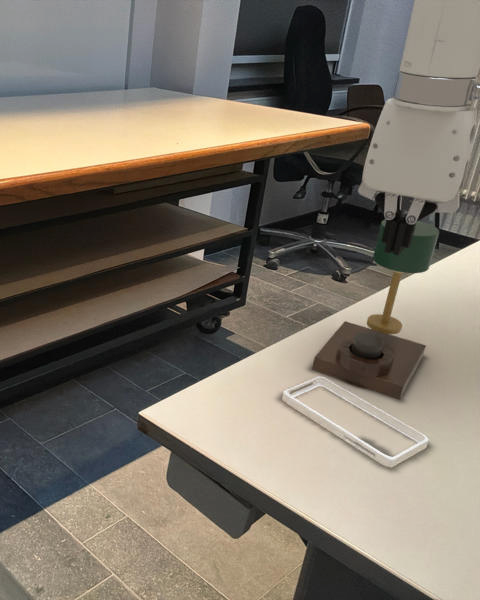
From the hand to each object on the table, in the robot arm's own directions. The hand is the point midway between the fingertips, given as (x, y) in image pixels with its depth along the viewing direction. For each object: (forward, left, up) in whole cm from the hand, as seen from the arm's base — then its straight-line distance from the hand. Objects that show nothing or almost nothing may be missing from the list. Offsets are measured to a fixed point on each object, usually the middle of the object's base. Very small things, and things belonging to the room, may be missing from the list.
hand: (394, 250), depth 80 cm
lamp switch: (0, 0, -14) cm, 14 cm away
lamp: (0, -8, -14) cm, 16 cm away
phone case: (-2, +11, -18) cm, 21 cm away
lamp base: (0, -4, -18) cm, 18 cm away
